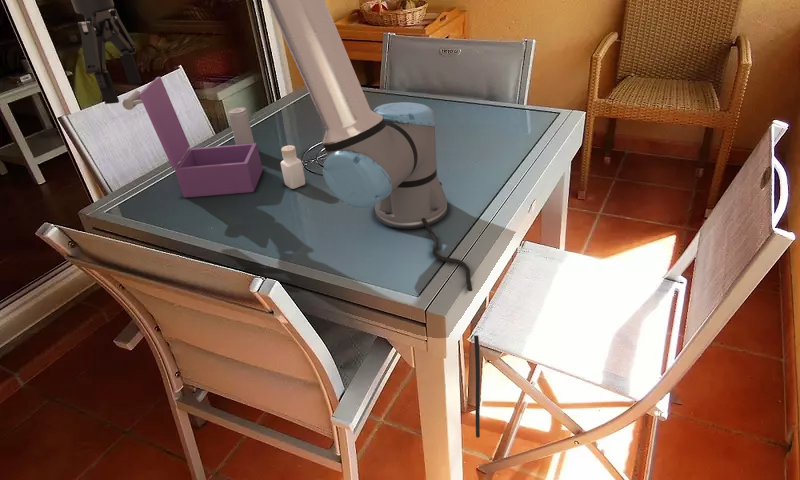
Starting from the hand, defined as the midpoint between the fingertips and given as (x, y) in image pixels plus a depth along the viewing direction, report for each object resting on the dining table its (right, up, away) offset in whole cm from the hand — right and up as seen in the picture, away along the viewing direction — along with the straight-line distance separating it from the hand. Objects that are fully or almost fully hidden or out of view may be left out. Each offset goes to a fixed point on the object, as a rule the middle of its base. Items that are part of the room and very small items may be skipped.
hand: (124, 92), depth 128 cm
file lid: (+8, -6, +4) cm, 11 cm away
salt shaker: (+36, -20, +9) cm, 42 cm away
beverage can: (+20, -9, +28) cm, 36 cm away
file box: (+18, -19, +13) cm, 29 cm away
